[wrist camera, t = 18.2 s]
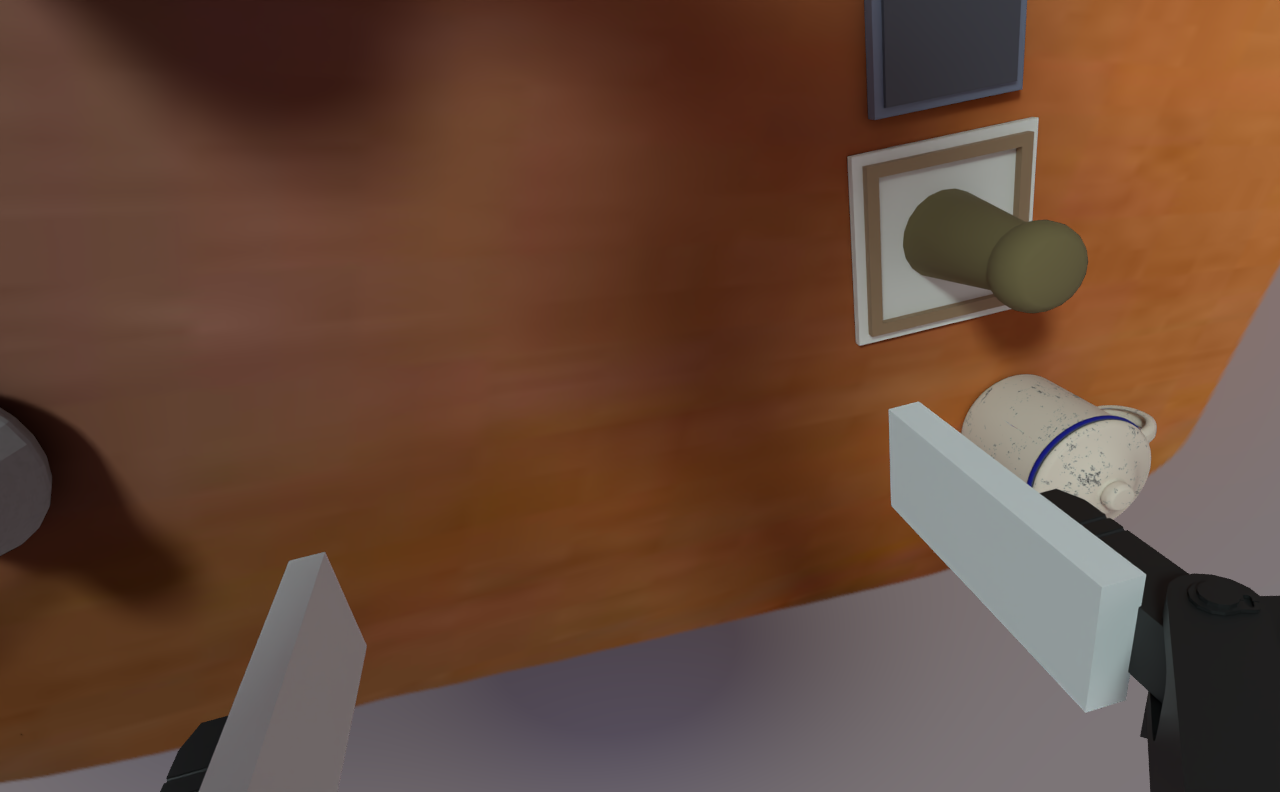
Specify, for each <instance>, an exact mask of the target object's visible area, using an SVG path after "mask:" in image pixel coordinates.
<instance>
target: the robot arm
mask: <svg viewBox="0 0 1280 792" xmlns="http://www.w3.org/2000/svg"><path fill="white" fill-rule="evenodd" d="M889 441H890V480H891V506H892V507H893V508H894V509H895V510H896V511H897V512H898V513H899V514H900V516H901V517H902V518H903V519H904V520H905V521H906V522H907V523H908V524H909V525H910V526H911V527H912V528H913V529H914V530H915V531H916V533H917V534H918V535H919V536H920V537H921V538H922V539H923V540H924V541H925V542H926V543H927V544H928V545H929V546H930V547H931V549H932V550H933V551H934V552H935V553H936V554H937V555H938V556H939V557H940V558H941V559H942V560H943V561H944V562H945V563H946V565H947V566H948V567H949V568H950V569H951V570H952V571H953V572H954V573H955V574H956V575H957V576H958V577H959V578H960V579H961V580H962V581H963V583H964V584H965V585H966V586H967V587H968V588H969V589H970V590H971V591H972V592H973V593H974V594H975V595H976V597H978V599H980V601H981V602H982V603H983V604H984V605H985V606H986V607H987V608H988V609H989V610H990V611H991V612H992V614H993V615H994V616H995V617H996V618H997V619H998V620H999V621H1000V622H1001V623H1002V624H1003V625H1004V626H1005V627H1006V628H1007V629H1008V631H1009V632H1010V633H1012V635H1013V636H1014V637H1015V638H1016V639H1017V640H1018V641H1019V642H1020V643H1021V644H1022V646H1023V647H1024V648H1025V649H1026V650H1027V651H1028V652H1029V653H1030V654H1031V655H1032V656H1033V657H1034V658H1035V659H1036V660H1037V662H1038V663H1039V664H1040V665H1041V666H1042V667H1043V668H1044V669H1045V670H1046V671H1047V672H1048V673H1049V674H1050V675H1051V676H1052V677H1053V678H1054V680H1055V681H1056V682H1057V683H1058V684H1059V685H1060V686H1061V687H1062V688H1063V689H1064V690H1065V691H1066V692H1067V693H1068V694H1069V696H1070V697H1071V698H1073V700H1074V701H1075V702H1076V703H1077V704H1078V705H1079V706H1080V707H1081V708H1082V709H1083V711H1084V712H1089V711H1092V710H1095V709H1098V708H1102V707H1105V706H1108V705H1111V704H1115V703H1118V702H1121V701H1125V700H1126V695H1127V689H1128V683H1129V677H1130V674H1131V675H1132V676H1133V677H1134V678H1135V679H1136V680H1137V681H1138V682H1139V683H1140V684H1142V685H1143V686H1144V687H1145V688H1146V689H1147V690H1148V697H1147V702H1146V708H1145V713H1144V719H1143V725H1142V730H1141V737H1144V738H1147V739H1148V754H1149V773H1150V792H1280V596H1259V595H1258V594H1256V593H1255V592H1254V591H1253V590H1251V589H1250V588H1248V587H1246V586H1244V585H1242V584H1240V583H1238V582H1236V581H1233V580H1231V579H1227V578H1223V577H1219V576H1215V575H1209V574H1188V573H1187V572H1185V571H1184V570H1183V569H1181V568H1180V567H1178V566H1177V565H1176V564H1174V563H1172V562H1171V561H1170V560H1169V559H1167V558H1165V557H1164V556H1163V555H1162V554H1160V553H1159V552H1157V551H1156V550H1155V549H1153V548H1152V547H1150V546H1149V545H1148V544H1146V543H1145V542H1143V541H1142V540H1141V539H1139V538H1138V537H1136V536H1135V535H1134V534H1132V533H1131V532H1129V531H1128V530H1127V531H1125V530H1124V529H1123V527H1122V526H1121V525H1119V524H1118V523H1117V522H1115V521H1114V520H1113V519H1111V518H1107V517H1106V514H1104V513H1103V512H1101V511H1100V510H1099V509H1097V508H1096V507H1094V506H1093V505H1092V504H1090V503H1089V502H1087V501H1086V500H1085V499H1082V498H1079V497H1077V496H1074V495H1072V494H1069V493H1067V492H1064V491H1061V490H1059V489H1053V490H1049V491H1045V492H1042V493H1038V492H1037V491H1036V490H1034V489H1033V488H1032V487H1030V486H1029V485H1028V484H1027V483H1025V482H1024V481H1023V480H1021V479H1020V478H1019V477H1017V476H1016V475H1015V474H1013V473H1012V472H1011V471H1009V470H1008V469H1007V468H1006V467H1004V466H1003V465H1002V464H1000V463H999V462H998V461H996V460H995V459H994V458H992V457H991V456H990V455H988V454H987V453H986V452H984V451H983V450H982V449H981V448H979V447H978V446H977V445H975V444H974V443H973V442H971V441H970V440H969V439H967V438H966V437H965V436H963V435H962V434H961V433H959V432H958V431H957V430H956V429H954V428H953V427H952V426H950V425H949V424H948V423H946V422H945V421H944V420H942V419H941V418H940V417H938V416H937V415H936V414H934V413H933V412H932V411H931V410H929V409H928V408H927V407H925V406H924V405H923V404H921V403H920V402H915V403H911V404H907V405H903V406H900V407H896V408H892V409H889ZM366 647H367V646H366V643H365V641H364V639H363V637H362V634H361V632H360V630H359V628H358V625H357V623H356V621H355V618H354V616H353V614H352V612H351V609H350V607H349V605H348V603H347V600H346V598H345V596H344V594H343V591H342V589H341V587H340V585H339V582H338V580H337V578H336V576H335V573H334V571H333V569H332V567H331V564H330V562H329V560H328V558H327V555H326V553H325V552H323V553H319V554H315V555H311V556H307V557H303V558H299V559H295V560H291V561H289V563H288V565H287V568H286V570H285V573H284V575H283V578H282V580H281V583H280V585H279V588H278V591H277V593H276V596H275V598H274V601H273V603H272V606H271V608H270V611H269V614H268V616H267V619H266V621H265V624H264V626H263V629H262V631H261V634H260V637H259V639H258V642H257V644H256V647H255V649H254V652H253V654H252V657H251V659H250V662H249V665H248V667H247V670H246V672H245V675H244V677H243V680H242V682H241V685H240V688H239V690H238V693H237V695H236V698H235V700H234V703H233V705H232V708H231V711H230V713H229V716H226V717H222V718H218V719H215V720H211V721H207V722H204V723H201V724H200V725H199V727H198V728H197V729H196V730H195V731H194V733H193V734H192V735H191V736H190V737H189V739H188V740H187V741H186V742H185V743H184V745H183V746H182V747H181V748H180V749H179V751H178V753H177V756H176V758H175V760H174V762H173V764H172V767H171V769H170V771H169V773H168V776H167V783H164V785H163V787H162V789H161V791H160V792H338V787H339V782H340V777H341V772H342V767H343V762H344V757H345V752H346V747H347V742H348V737H349V732H350V727H351V722H352V717H353V712H354V707H355V702H356V697H357V692H358V687H359V682H360V677H361V672H362V667H363V662H364V657H365V652H366Z"/></svg>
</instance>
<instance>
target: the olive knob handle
mask: <svg viewBox="0 0 1280 792" xmlns="http://www.w3.org/2000/svg"><path fill="white" fill-rule="evenodd" d="M903 249H904V253H905V258H906V260H907V261H908V263H909V264H910V266H911V267H912V269H914V270H915V271H916V272H918V273H919V274H921V275H923V276H928V277H932V278H937V279H941V280H946V281H950V282H955V283H959V284H964V285H968V286H973V287H978V288H982V289H987V290H991V291H992V293H993V294H994V296H995V297H996V298H997V299H998V300H999V301H1000V302H1002V303H1003V304H1004V305H1006V306H1007V307H1009V308H1011V309H1013V310H1016V311H1021V312H1025V313H1038V312H1045V311H1048V310H1051V309H1053V308H1055V307H1057V306H1060V305H1062V304H1063V303H1064V302H1066V301H1067V300H1068V299H1069V298H1071V297H1072V296H1073V295H1074V293H1075V292H1076V291H1077V289H1078V288H1079V287H1080V285H1081V283H1082V281H1083V279H1084V277H1085V275H1086V270H1087V265H1088V257H1087V250H1086V247H1085V245H1084V243H1083V241H1082V239H1081V237H1080V236H1079V235H1078V234H1077V233H1076V232H1074V231H1073V230H1072V229H1071V228H1069V227H1068V226H1067V225H1065V224H1061V223H1057V222H1054V221H1049V220H1037V221H1029V222H1025V221H1023V220H1021V219H1019V218H1017V217H1015V216H1013V215H1011V214H1009V213H1008V212H1006V211H1004V210H1002V209H1000V208H998V207H996V206H994V205H992V204H990V203H988V202H986V201H984V200H983V199H981V198H979V197H977V196H975V195H973V194H971V193H969V192H967V191H963V190H959V189H956V188H955V189H946V190H941V191H939V192H936V193H934V194H932V195H930V196H928V197H927V198H926V199H925V200H924V201H923V202H921V203H920V204H919V205H918V206H917V207H916V209H915V210H914V212H913V213H912V215H911V216H910V218H909V220H908V222H907V225H906V228H905V231H904V238H903Z"/></svg>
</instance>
